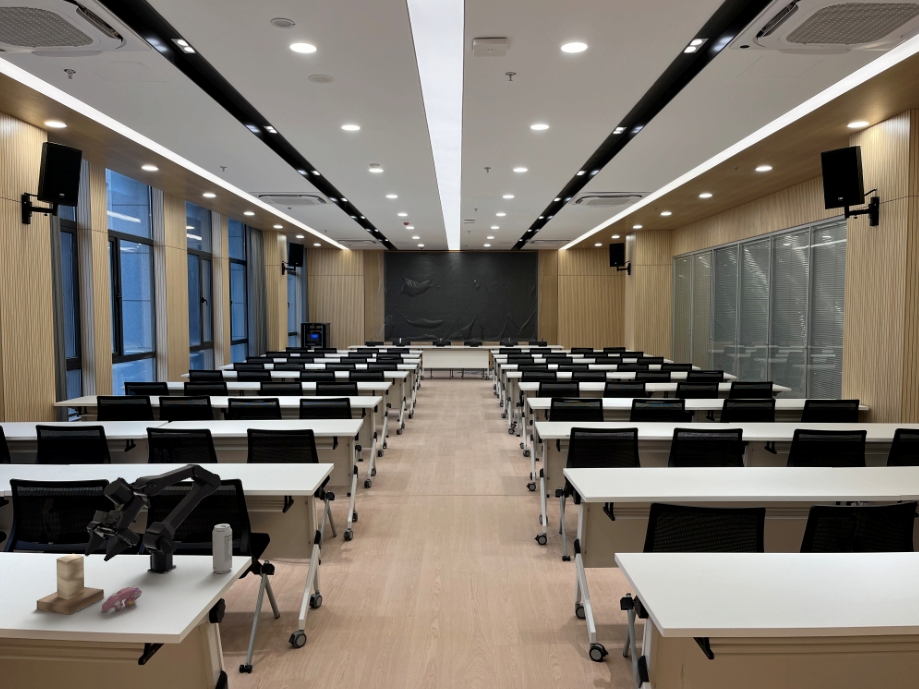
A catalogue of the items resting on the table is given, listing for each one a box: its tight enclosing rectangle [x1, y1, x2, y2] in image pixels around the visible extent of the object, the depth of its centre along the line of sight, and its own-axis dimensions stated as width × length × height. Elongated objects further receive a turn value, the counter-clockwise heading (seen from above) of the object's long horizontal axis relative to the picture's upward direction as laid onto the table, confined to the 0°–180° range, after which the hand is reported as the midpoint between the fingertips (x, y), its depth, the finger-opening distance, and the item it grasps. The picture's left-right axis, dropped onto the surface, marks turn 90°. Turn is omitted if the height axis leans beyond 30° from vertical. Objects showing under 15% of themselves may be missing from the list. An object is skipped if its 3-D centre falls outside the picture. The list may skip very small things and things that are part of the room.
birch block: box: [55, 553, 85, 600], centre depth 194 cm, size 5×5×11 cm
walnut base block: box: [36, 586, 105, 615], centre depth 194 cm, size 12×12×2 cm
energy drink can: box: [212, 523, 233, 574], centre depth 220 cm, size 6×6×15 cm
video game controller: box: [101, 585, 143, 613], centre depth 191 cm, size 10×5×7 cm, turn 149°
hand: (95, 558), depth 200 cm, fingers open, 9 cm apart
